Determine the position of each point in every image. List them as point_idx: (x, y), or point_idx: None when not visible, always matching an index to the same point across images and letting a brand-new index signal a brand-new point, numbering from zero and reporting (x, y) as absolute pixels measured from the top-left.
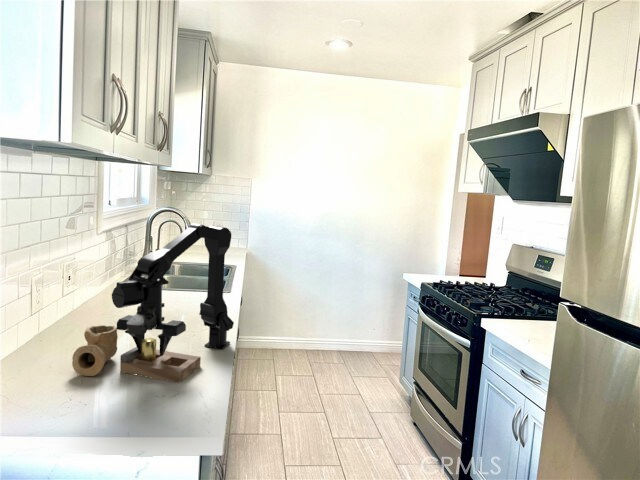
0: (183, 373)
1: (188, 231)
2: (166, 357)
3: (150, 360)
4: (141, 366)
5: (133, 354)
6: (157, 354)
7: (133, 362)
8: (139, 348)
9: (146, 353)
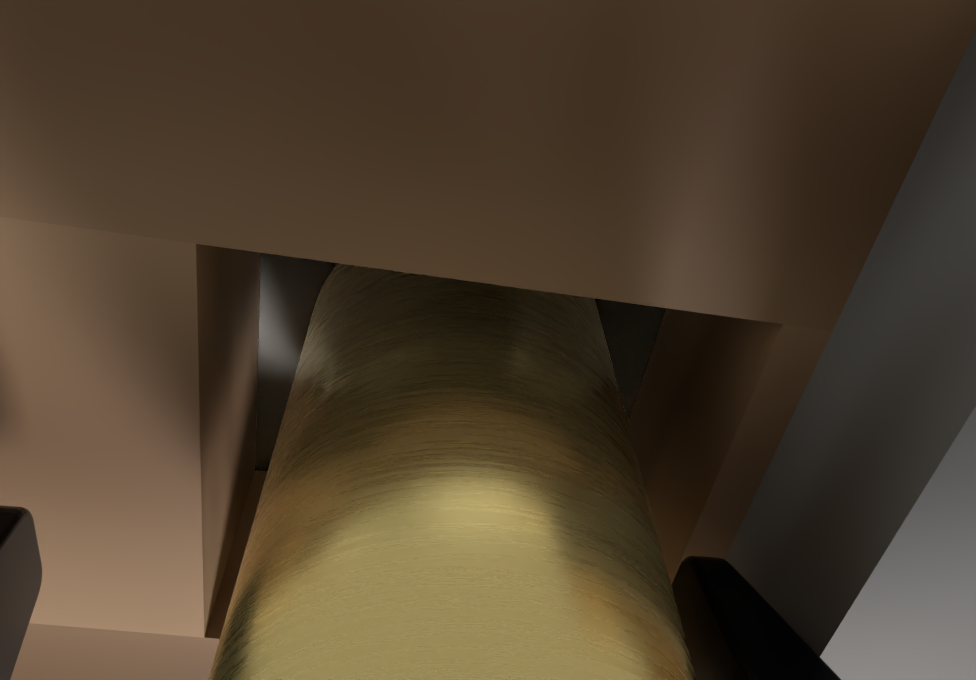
0: None
1: None
2: None
3: (328, 369)
4: None
5: (873, 432)
6: None
7: (740, 73)
8: (767, 677)
9: (423, 486)
